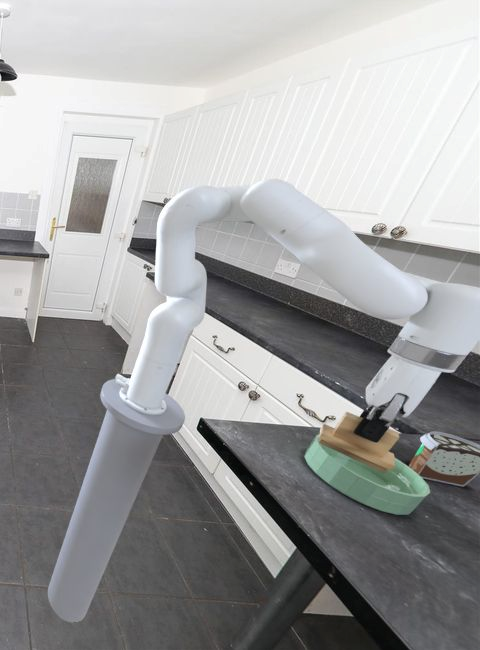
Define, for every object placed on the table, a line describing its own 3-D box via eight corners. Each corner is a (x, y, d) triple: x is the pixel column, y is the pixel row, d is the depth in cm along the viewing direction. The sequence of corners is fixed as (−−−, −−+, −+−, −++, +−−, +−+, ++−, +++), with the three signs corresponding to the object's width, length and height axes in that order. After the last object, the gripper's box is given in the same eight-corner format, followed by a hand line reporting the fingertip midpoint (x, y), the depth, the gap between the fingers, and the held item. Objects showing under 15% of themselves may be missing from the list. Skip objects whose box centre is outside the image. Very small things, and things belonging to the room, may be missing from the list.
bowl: (299, 473, 75) (312, 453, 73) (307, 440, 86) (319, 423, 84) (415, 533, 64) (435, 513, 62) (407, 487, 75) (424, 468, 72)
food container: (442, 467, 82) (470, 436, 78) (471, 488, 76) (503, 456, 73) (384, 455, 84) (408, 424, 80) (408, 475, 78) (436, 443, 74)
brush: (315, 442, 69) (335, 414, 66) (317, 432, 72) (336, 404, 69) (387, 475, 62) (412, 446, 59) (386, 463, 65) (410, 434, 62)
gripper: (389, 334, 65) (339, 408, 73) (394, 356, 55) (336, 440, 62) (451, 350, 60) (390, 428, 67) (469, 379, 50) (396, 467, 57)
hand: (365, 433), depth 65 cm, fingers closed on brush, 2 cm apart
